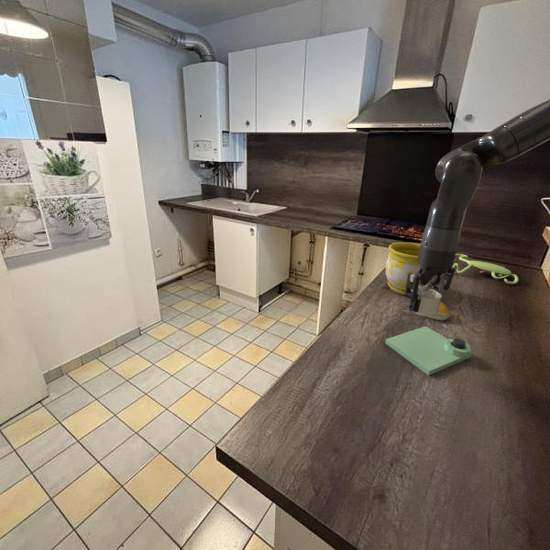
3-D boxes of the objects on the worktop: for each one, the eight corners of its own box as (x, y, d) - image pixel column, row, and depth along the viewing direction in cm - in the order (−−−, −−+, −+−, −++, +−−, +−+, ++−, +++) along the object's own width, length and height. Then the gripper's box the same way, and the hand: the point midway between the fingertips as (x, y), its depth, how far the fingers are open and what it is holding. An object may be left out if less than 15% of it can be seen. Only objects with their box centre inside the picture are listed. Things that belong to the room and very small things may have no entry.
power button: (456, 342, 78) (457, 337, 77) (466, 347, 75) (468, 343, 75) (449, 344, 77) (450, 339, 76) (459, 350, 74) (461, 345, 74)
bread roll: (445, 309, 99) (448, 299, 97) (450, 323, 91) (453, 312, 90) (419, 305, 102) (421, 295, 100) (421, 318, 94) (424, 307, 92)
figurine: (445, 261, 144) (448, 250, 142) (512, 272, 131) (516, 260, 129) (443, 273, 129) (446, 261, 127) (518, 287, 117) (523, 274, 115)
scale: (425, 329, 88) (427, 321, 87) (472, 357, 76) (476, 348, 75) (385, 343, 81) (386, 334, 80) (429, 376, 69) (432, 366, 68)
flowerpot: (377, 278, 123) (383, 241, 116) (421, 280, 121) (430, 243, 115) (388, 298, 106) (396, 255, 100) (439, 301, 105) (451, 258, 98)
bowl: (420, 302, 78) (424, 285, 76) (442, 313, 73) (447, 296, 71) (403, 307, 75) (406, 290, 73) (424, 319, 70) (429, 301, 68)
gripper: (431, 253, 61) (415, 321, 68) (474, 246, 67) (455, 309, 73) (403, 244, 67) (391, 307, 74) (444, 237, 73) (429, 296, 80)
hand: (423, 307), depth 74 cm, fingers closed on bowl, 6 cm apart
